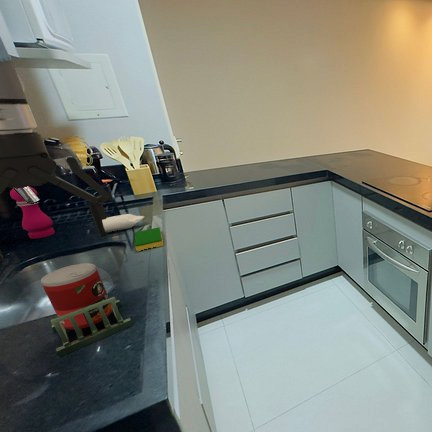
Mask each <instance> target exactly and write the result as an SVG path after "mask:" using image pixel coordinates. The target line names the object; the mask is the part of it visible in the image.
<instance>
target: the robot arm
mask: <svg viewBox="0 0 432 432" xmlns="http://www.w3.org/2000/svg"><path fill="white" fill-rule="evenodd" d="M37 128H38V125H37V122H36V119H35V116H34V114H33V112H32V109H31V107H30V105H29V104H28V100H27V97H26V93H25V92H24V89H23V86H22V83H21V81H20V79H19V76H18V73H17V71H16V68H15V65H14V62H13V58H12V56H11V54H9V52H8V50H7V48H6V46H5V44H4V41H3V39H2V38H1V36H0V196H1V195H2V194H3V193H4V192H5V190H6V189H7V188H12V189H14V188H16V189H18V188H24V187H27V186H28V187H39V186H43V185H45V184H47V183H50V184H52V185H54V186H56V187H59V188H61V189H62V190H64V191H67V192H68V193H71V194H73V195H75V196H77V197H79V198H80V199H82V200H85V201H87V202H89V203H90V204H89V203H88V204H87V206H88V208H89V211H90V214H91V216H92V219H93V222H94V224H95V228H96V230H97V232H98V234H99V236H100V238H104V237H107V233H106V232H105V229H104V226H103V222H102V220H104V219H106V218H108V216H107V212H106V209H105V208H104V207H105V206H104V204H105V203H106V202H108V201H111V200H113V195H112V194H110V192H108V191H107V190H106V189H105V188H104V187H102V186H101V185H100V183H98V182H96V181H95V180H94V179H93V178H92V177H91V176H90V175H89V174H88V173H86V172H85V171H84V170H83V169H82V168H81V167H80V166H79V164H78V161H77V160H76V159H75V157H74V156H72V155H66V156H65V157H60V158H55V159H54V158H52V157H51V155H49V151H48V149H47V146H46V145H45V141H44V139H43V137H42V134H41V133H39V132H37V131H35V130H36V129H37ZM57 166H61V167H62V168H63V169H65V170H71V171H72V172H73V173H74V174H75V175H76V176H78V178H79V179H80V180H82V181H83V182H84V183H85V184H87V185H88V186H89V187H90V188H91V189H93V190H94V191H95V192H96V193H97V194H99V195H97V196H96V195H94V194H92V193H90V192H87V190H84V189H82V188H80V187H78V186H76V185H74V184H72V183H70V182H68V181H66V180H64V179H63V178H61V177H59V176H57V175H56V174H54V171H55V170H56V168H57ZM1 262H2V263H3V262H4V255H3V253H2V251H1V250H0V263H1Z"/></svg>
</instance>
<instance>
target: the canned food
mask: <svg viewBox="0 0 432 432" xmlns="http://www.w3.org/2000/svg"><path fill="white" fill-rule="evenodd" d="M40 282H41V287H42V288H43V291H44V292H45V294H46V297H47V298H48V301H49V302H50V304H51V306H52V308H53V310H54V312H55V314H56V317H60V316H63V315H65V314H68V313H71V312H74V311H76V310H79V309H82V308H85V307H87V306H90V305H93V304H95V303H98V302H101V301H104V300H106V299H109V298H110V297H109V295H108V291H107V290H106V287H105V285H104V283H103V280H102V277H101V275H100V273H99V270H98V268H97V266H96V265H95V264H93V263H85V262H84V263H77V264H72V265H68V266H64V267H61V268H58V269H55V270H53V271H51V272H49V273H47V274H46V275H44V276H43V277H42V278H41V279H40ZM102 308H103V310H104V313H105V315H106V317H107V318H108V317H109V316H110V315H111V314H112V313H113V312H112V305H111V303H108V304H105V305H103V306H102ZM88 312H89V314H90V317H91V319H92V321H93V323H94V324H95V325H96V324H98V323H100V322H103V321H102V320H103V319H102V316H101V314H100V312H99V309H98V307H97V308H95V309H92V310H89V311H88ZM74 318H75V320H76V322H77V324H78V327H79V329H85V328H88V327H89V328H90V325H89V323H88V321H87V319H86V317H85V314H84V313H81V314H79V315H76V316H74ZM60 322H61V324H62V325H63V326H64V327H65V328H66V330H75V329H74V327H73V325H72V323H71V321H70V319H69V318H68V319H65V320H63V321H60Z"/></svg>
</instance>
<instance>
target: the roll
mask: <svg viewBox="0 0 432 432" xmlns="http://www.w3.org/2000/svg"><path fill="white" fill-rule="evenodd" d="M144 218H145V216H144V215H135V214H132V213H125V214H119V215H114V216H109V217H108V216H107V218H106V219H104V220H101V223H102V226H103V229H104V231H105V234H108V233H112V231H113V232H117V230H118V231H122V230H123V231H124V230H127V229H132V228H133V227H134V226H136V225H137V224H138V223H140V222H141V221H142V220H143V219H144Z"/></svg>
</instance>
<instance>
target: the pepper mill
mask: <svg viewBox="0 0 432 432" xmlns="http://www.w3.org/2000/svg"><path fill="white" fill-rule="evenodd" d="M29 187H30V188H31V189H32V190H33V191H34V193H35V194H36V195H37V196H38V192H37V190H36V189H35V188H33V186H29ZM9 195H10V198H11V199H12V200H14V201H16V202H15V203H16V206H18V207H20V208H21V211H22V219H21V227H22V229H23V230H25V231H26V232H28V233H27V235H28V237H29V239H31V240H35V239H37V240H38V239H42V238H47V237H50V236H52V235H55V234H56V232H55V229H54V227H52V226H53V223H54V222H53V220H52V219H51V217H49V216H48V215H47V214H46V213H44V212H43V210H41V208H40V207H39V202H37V203H34V204H29V203H27V202H26V201H25V200H24V199H23V198H22V197H21V196H20V195H19V194H18V193H17V192H16V191H15V190H14V188H12V189H11V190H10V191H9Z"/></svg>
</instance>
